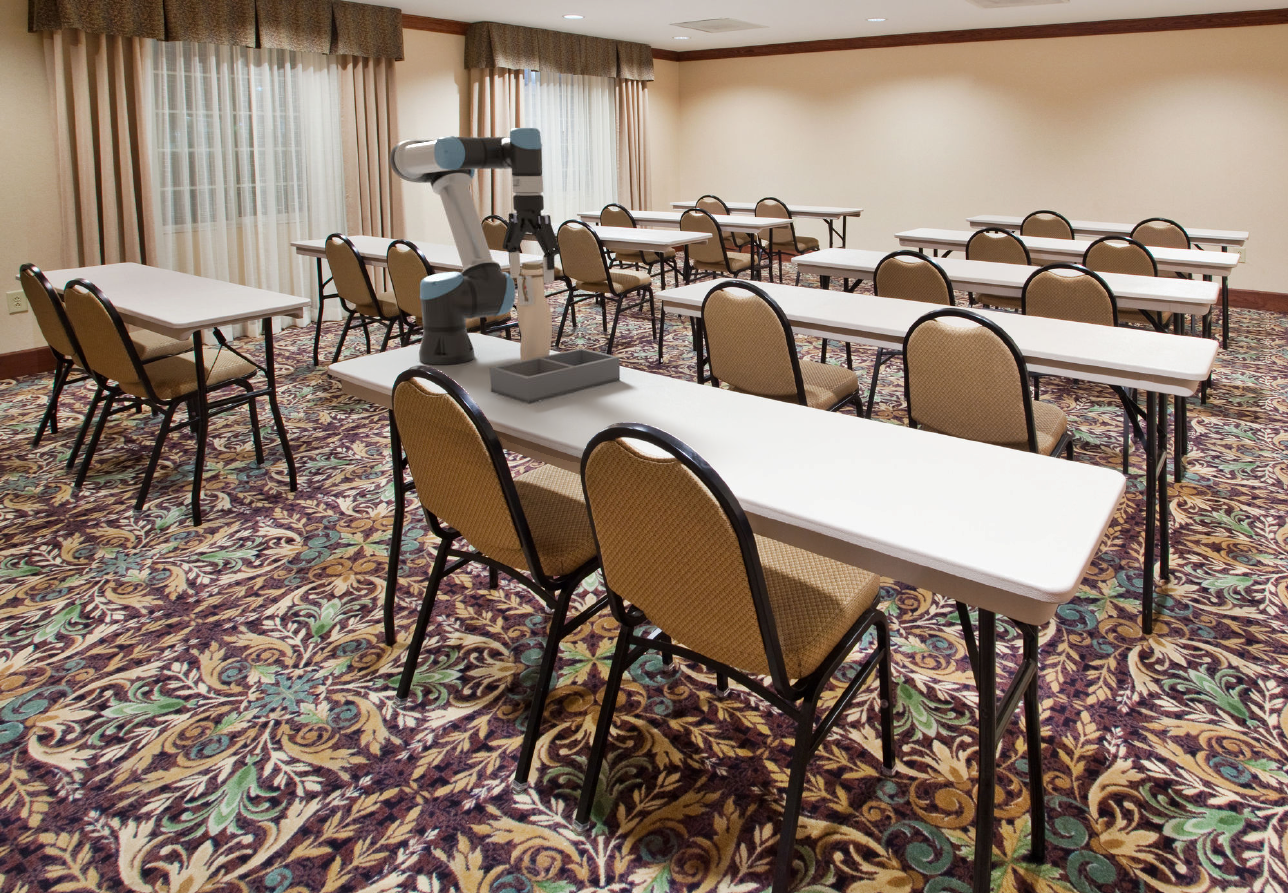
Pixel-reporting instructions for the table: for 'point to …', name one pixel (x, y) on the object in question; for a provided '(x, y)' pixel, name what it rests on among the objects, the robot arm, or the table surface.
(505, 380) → the bottle caddy
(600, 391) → the table surface
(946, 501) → the table surface
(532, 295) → the water bottle
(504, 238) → the robot arm
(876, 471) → the table surface
